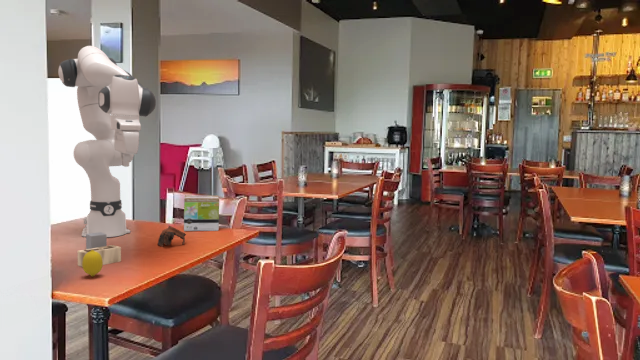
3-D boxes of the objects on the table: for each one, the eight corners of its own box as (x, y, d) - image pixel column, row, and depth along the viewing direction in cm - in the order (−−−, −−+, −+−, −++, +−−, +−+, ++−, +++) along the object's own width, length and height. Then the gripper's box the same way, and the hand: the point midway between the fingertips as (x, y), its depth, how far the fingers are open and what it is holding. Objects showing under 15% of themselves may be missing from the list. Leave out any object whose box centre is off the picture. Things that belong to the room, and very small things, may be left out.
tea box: (183, 231, 223) (183, 197, 221) (184, 227, 232) (184, 194, 231) (219, 231, 226) (219, 197, 225) (218, 226, 236) (218, 194, 235)
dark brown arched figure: (157, 243, 201) (168, 224, 203) (179, 254, 201) (190, 235, 203) (151, 242, 189) (163, 222, 191) (175, 254, 190) (186, 233, 191)
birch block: (112, 259, 175) (77, 266, 165) (112, 244, 174) (77, 250, 165) (120, 262, 171) (85, 269, 162) (120, 246, 171) (85, 252, 162)
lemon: (86, 274, 156) (85, 247, 155) (105, 274, 156) (105, 247, 156) (79, 279, 150) (79, 252, 150) (99, 279, 151) (98, 252, 150)
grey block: (86, 257, 176) (86, 233, 176) (101, 254, 180) (101, 232, 179) (91, 259, 173) (91, 236, 172) (106, 257, 176) (106, 234, 175)
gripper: (109, 123, 178) (109, 163, 179) (121, 124, 161) (121, 169, 162) (128, 124, 181) (128, 163, 183) (142, 125, 164) (142, 168, 165)
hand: (125, 166), depth 172 cm, fingers closed
